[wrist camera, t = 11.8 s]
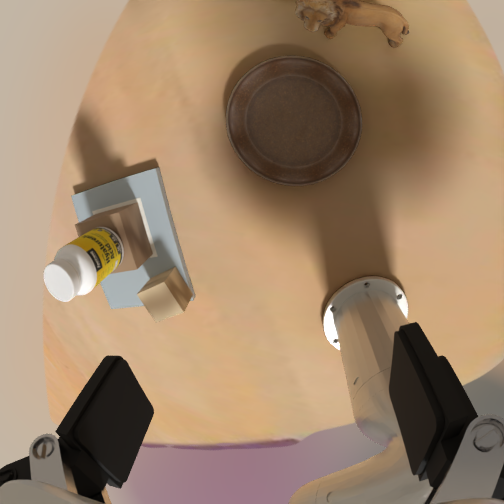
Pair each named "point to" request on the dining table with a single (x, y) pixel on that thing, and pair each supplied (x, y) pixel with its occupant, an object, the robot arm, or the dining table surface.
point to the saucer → (293, 120)
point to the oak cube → (165, 295)
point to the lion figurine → (351, 17)
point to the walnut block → (123, 233)
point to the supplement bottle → (83, 263)
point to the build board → (156, 224)
